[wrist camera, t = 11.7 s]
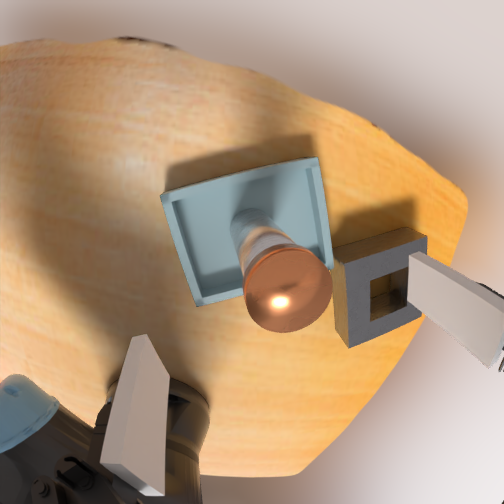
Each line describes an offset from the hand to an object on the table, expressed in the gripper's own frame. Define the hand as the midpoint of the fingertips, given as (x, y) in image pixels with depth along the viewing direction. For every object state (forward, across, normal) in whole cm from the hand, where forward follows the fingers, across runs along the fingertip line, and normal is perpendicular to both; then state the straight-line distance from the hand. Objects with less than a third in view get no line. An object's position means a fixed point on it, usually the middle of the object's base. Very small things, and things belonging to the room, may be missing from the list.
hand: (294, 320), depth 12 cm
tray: (+16, +1, 0) cm, 16 cm away
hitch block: (+16, +14, -10) cm, 23 cm away
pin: (+15, +1, 0) cm, 15 cm away
